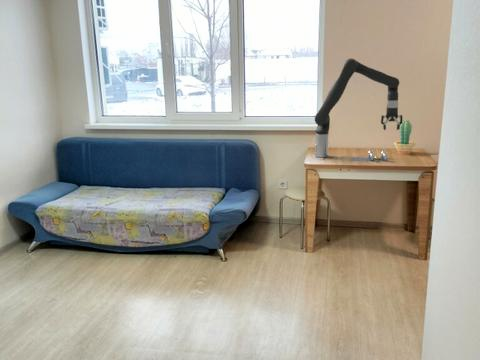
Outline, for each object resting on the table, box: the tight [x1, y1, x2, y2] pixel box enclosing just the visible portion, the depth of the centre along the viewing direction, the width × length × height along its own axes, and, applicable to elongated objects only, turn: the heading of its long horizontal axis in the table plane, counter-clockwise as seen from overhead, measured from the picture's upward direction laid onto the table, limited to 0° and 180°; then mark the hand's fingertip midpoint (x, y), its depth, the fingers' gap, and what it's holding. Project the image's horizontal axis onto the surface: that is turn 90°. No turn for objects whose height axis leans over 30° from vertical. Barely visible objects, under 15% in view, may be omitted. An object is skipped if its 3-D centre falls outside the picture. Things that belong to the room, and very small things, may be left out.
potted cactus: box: [393, 119, 416, 155], centre depth 334 cm, size 15×15×25 cm
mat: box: [349, 156, 388, 162], centre depth 319 cm, size 25×12×1 cm, turn 81°
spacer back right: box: [380, 150, 387, 159], centre depth 321 cm, size 3×3×5 cm
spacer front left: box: [369, 152, 375, 162], centre depth 314 cm, size 3×3×5 cm
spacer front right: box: [382, 152, 389, 162], centre depth 313 cm, size 3×3×5 cm
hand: (391, 129), depth 313 cm, fingers open, 8 cm apart
